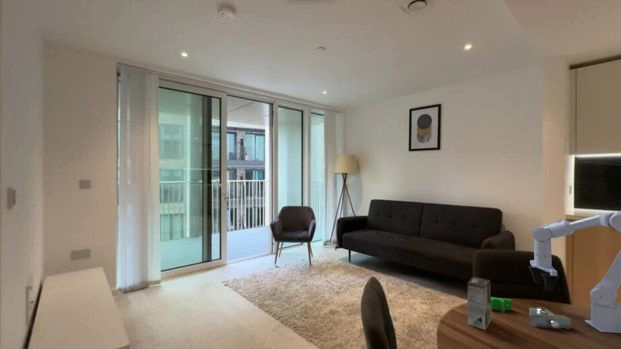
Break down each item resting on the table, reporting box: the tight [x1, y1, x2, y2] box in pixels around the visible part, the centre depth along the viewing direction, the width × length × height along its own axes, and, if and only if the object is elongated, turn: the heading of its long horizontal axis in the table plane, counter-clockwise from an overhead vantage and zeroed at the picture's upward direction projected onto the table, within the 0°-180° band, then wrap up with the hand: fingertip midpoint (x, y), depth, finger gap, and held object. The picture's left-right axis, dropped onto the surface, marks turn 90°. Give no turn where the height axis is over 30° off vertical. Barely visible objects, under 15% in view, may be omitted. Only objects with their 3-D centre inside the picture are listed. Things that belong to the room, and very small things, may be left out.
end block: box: [529, 314, 572, 330], centre depth 109 cm, size 12×5×4 cm, turn 81°
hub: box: [528, 306, 555, 316], centre depth 114 cm, size 6×6×5 cm
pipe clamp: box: [491, 296, 513, 313], centre depth 124 cm, size 11×4×5 cm, turn 68°
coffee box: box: [466, 276, 492, 331], centre depth 113 cm, size 9×6×16 cm
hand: (543, 287), depth 123 cm, fingers open, 7 cm apart
